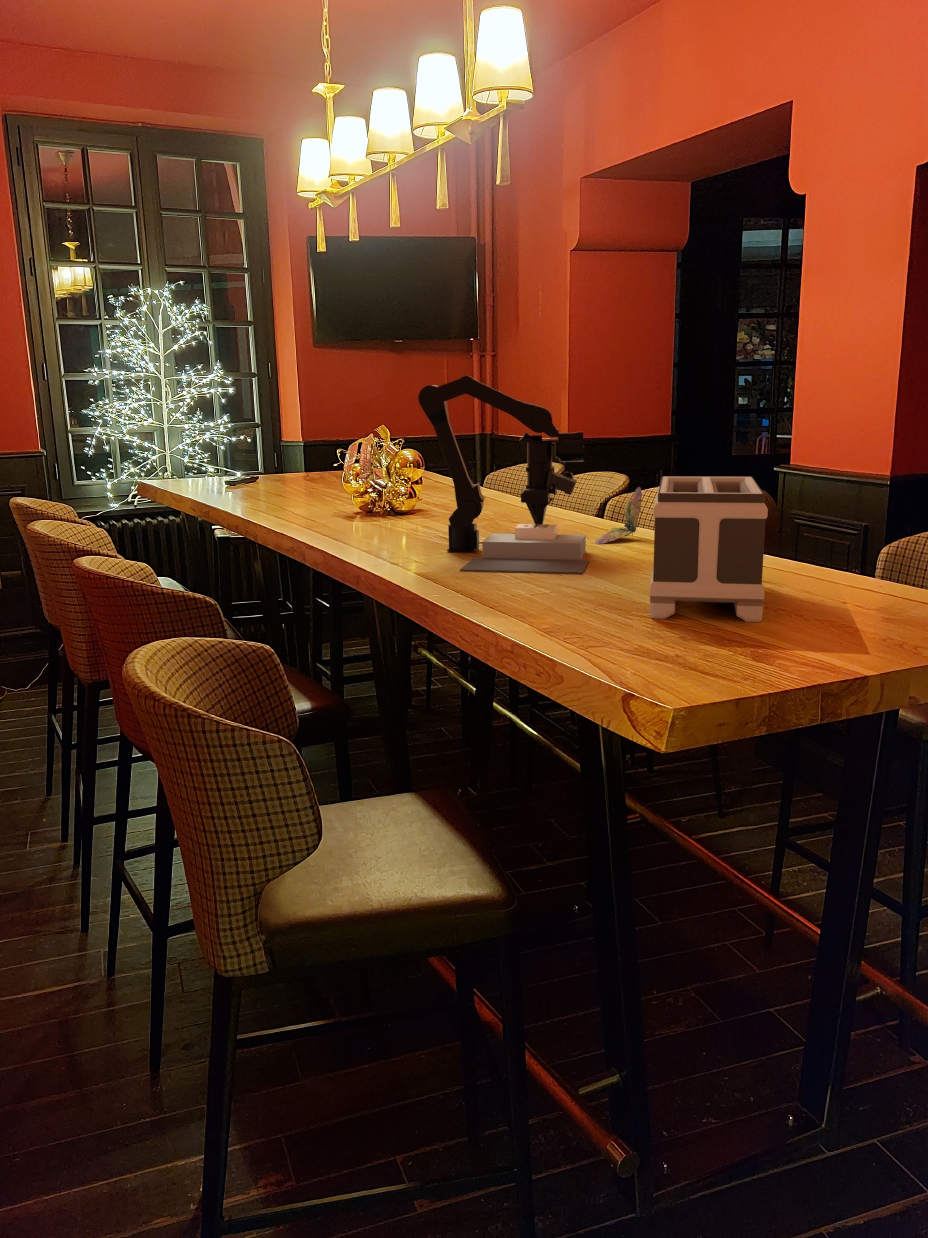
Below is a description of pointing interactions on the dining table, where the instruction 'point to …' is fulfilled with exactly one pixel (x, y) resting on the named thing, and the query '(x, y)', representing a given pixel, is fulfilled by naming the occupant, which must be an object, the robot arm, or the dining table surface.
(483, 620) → the dining table surface
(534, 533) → the domino
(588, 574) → the dining table surface
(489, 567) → the mat
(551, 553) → the block
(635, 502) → the butterfly
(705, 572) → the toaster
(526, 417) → the robot arm
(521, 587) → the dining table surface
